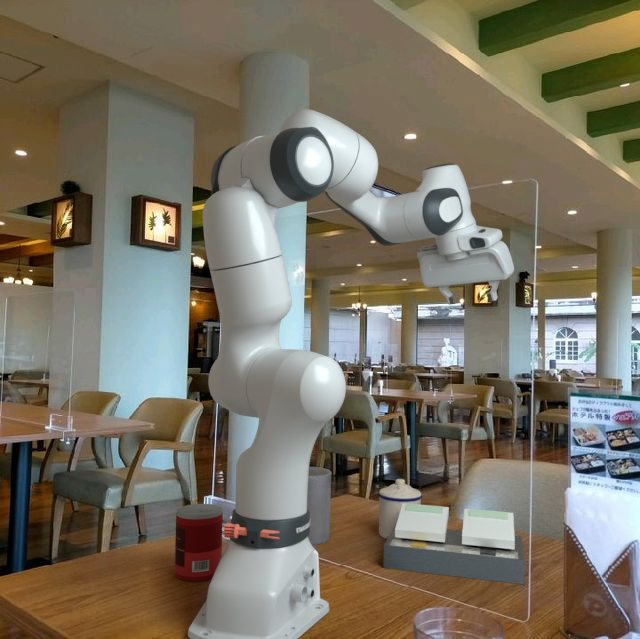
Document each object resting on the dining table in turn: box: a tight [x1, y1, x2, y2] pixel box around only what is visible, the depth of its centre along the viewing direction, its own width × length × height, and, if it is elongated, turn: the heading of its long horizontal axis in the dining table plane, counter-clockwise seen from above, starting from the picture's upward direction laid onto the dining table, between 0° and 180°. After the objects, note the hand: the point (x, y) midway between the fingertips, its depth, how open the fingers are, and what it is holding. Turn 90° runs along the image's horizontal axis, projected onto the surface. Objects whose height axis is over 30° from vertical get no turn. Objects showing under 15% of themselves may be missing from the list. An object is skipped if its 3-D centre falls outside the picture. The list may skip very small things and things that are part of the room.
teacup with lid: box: [377, 478, 423, 540], centre depth 132 cm, size 12×9×12 cm
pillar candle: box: [307, 465, 332, 546], centre depth 128 cm, size 10×10×15 cm
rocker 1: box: [395, 503, 450, 542], centre depth 118 cm, size 10×9×2 cm
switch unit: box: [383, 525, 526, 585], centre depth 115 cm, size 14×24×5 cm, turn 74°
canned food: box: [174, 503, 224, 583], centre depth 108 cm, size 8×8×11 cm
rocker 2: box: [462, 508, 516, 550], centre depth 115 cm, size 10×9×2 cm
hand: (472, 301), depth 134 cm, fingers open, 8 cm apart
